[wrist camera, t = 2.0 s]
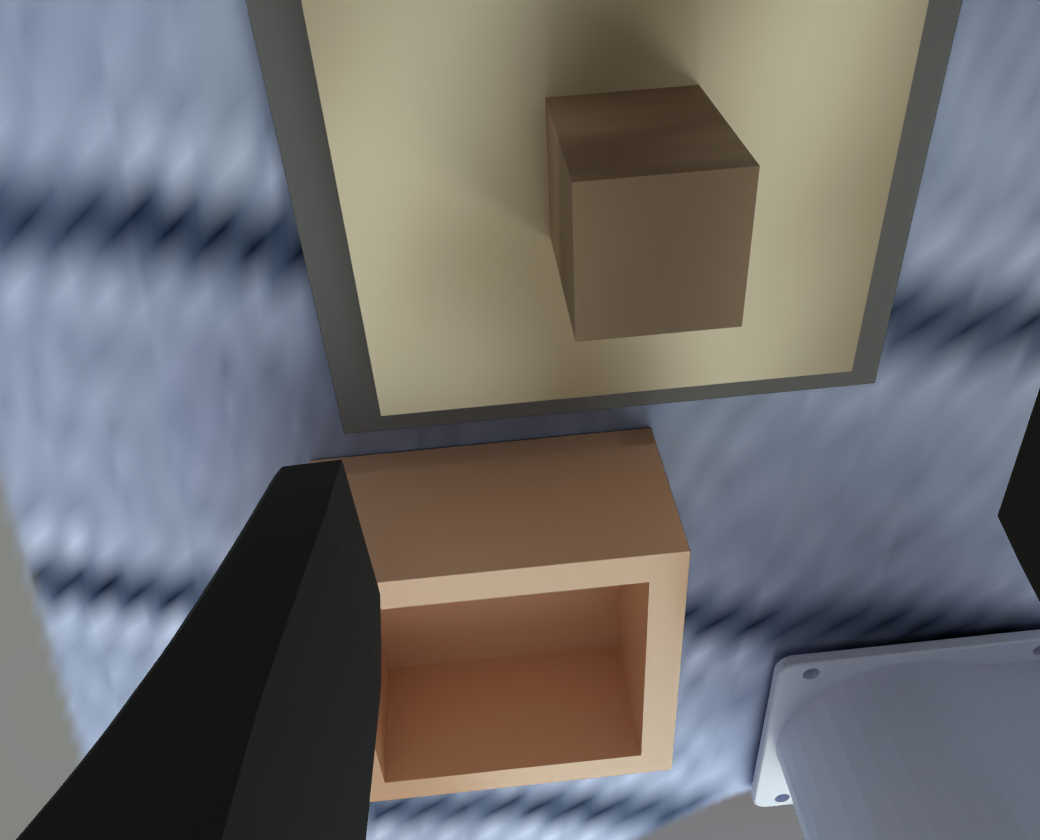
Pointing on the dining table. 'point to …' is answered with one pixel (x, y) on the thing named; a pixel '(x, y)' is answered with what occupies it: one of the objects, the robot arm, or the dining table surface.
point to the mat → (354, 385)
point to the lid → (609, 187)
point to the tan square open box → (523, 611)
